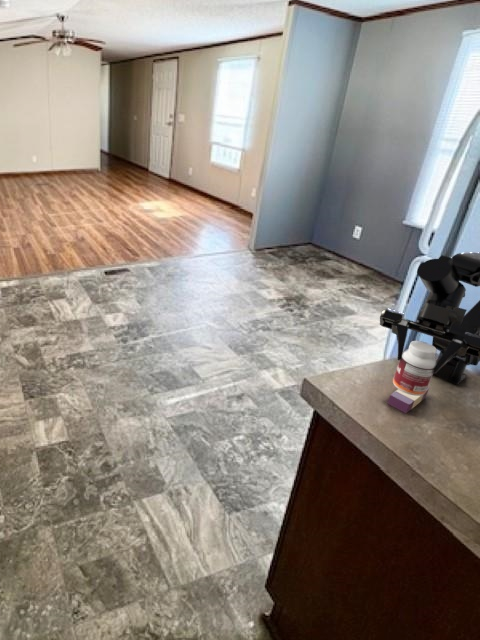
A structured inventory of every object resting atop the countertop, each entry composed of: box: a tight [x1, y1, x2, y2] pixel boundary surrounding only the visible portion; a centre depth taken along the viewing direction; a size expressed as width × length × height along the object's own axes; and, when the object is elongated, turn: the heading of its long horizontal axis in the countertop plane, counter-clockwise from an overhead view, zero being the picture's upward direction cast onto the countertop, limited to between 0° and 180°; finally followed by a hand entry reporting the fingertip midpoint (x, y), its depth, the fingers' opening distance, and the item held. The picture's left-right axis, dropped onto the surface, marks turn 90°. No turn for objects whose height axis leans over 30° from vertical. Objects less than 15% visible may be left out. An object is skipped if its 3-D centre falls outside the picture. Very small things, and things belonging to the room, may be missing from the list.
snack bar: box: [386, 388, 430, 414], centre depth 99 cm, size 10×4×2 cm, turn 123°
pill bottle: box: [392, 340, 438, 396], centre depth 92 cm, size 6×6×11 cm
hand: (415, 366), depth 91 cm, fingers closed on pill bottle, 6 cm apart
